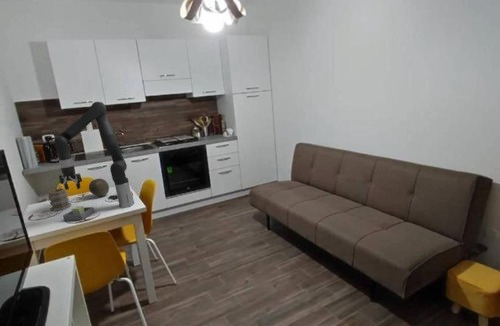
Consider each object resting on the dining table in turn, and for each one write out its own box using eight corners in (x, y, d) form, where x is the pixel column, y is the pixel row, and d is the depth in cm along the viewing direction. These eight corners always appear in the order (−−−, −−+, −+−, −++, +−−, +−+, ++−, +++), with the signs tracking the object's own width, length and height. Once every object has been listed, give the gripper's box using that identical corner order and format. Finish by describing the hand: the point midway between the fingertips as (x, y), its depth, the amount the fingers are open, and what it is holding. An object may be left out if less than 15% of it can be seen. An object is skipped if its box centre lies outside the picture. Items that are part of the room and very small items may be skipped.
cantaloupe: (107, 192, 258) (103, 175, 254) (112, 195, 248) (108, 177, 244) (89, 197, 249) (85, 180, 245) (94, 200, 239) (90, 182, 235)
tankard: (68, 209, 225) (63, 190, 222) (49, 212, 222) (44, 193, 218) (74, 200, 244) (70, 183, 240) (57, 203, 240) (52, 186, 237)
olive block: (85, 214, 209) (83, 206, 208) (80, 217, 204) (78, 208, 203) (78, 214, 210) (76, 206, 208) (73, 217, 205) (71, 209, 204)
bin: (94, 212, 213) (93, 207, 212) (82, 220, 200) (80, 214, 199) (77, 213, 215) (76, 207, 214) (64, 221, 202) (62, 215, 201)
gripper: (80, 163, 201) (86, 186, 205) (61, 165, 203) (67, 188, 207) (72, 166, 194) (79, 190, 198) (53, 168, 196) (59, 191, 200)
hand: (73, 189), depth 203 cm, fingers open, 8 cm apart
